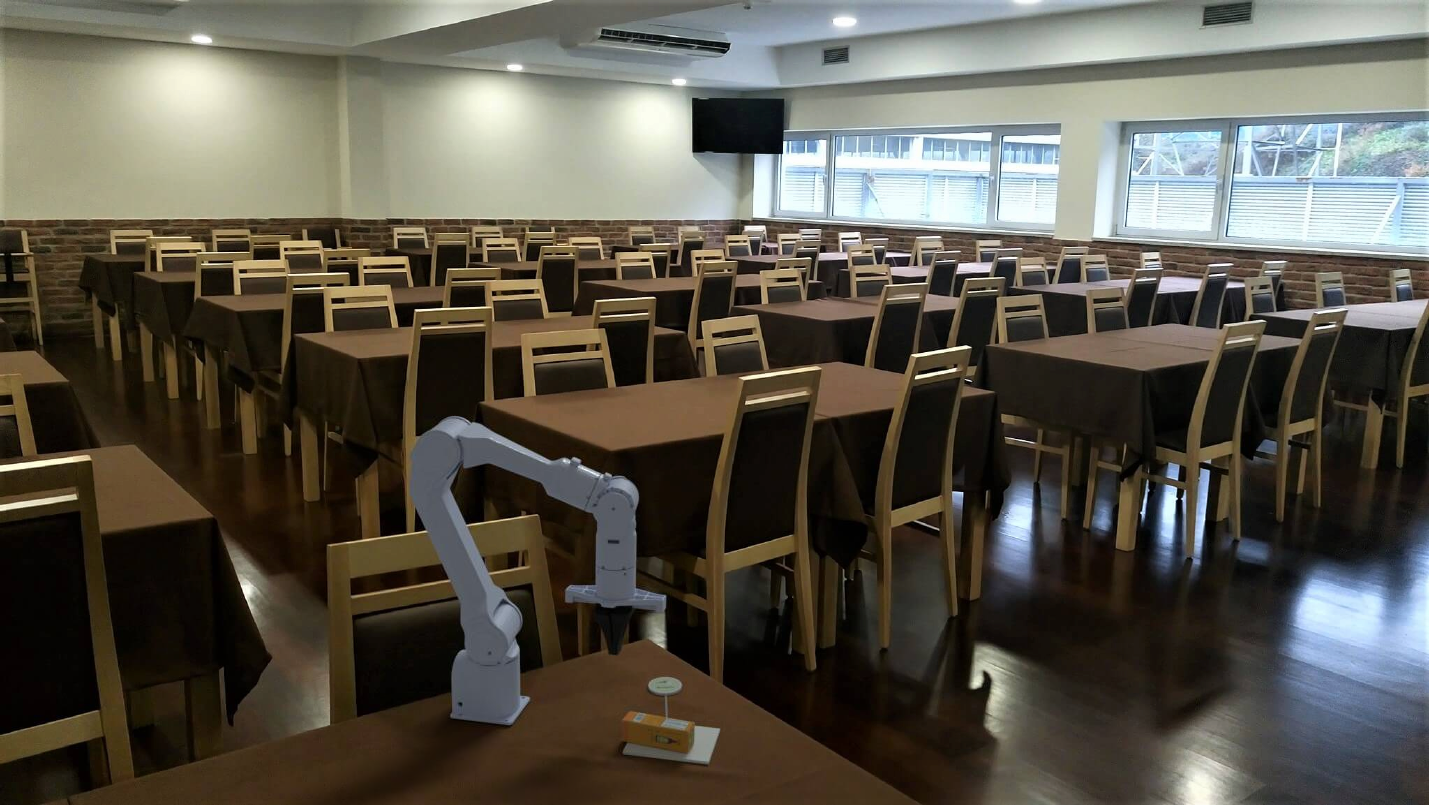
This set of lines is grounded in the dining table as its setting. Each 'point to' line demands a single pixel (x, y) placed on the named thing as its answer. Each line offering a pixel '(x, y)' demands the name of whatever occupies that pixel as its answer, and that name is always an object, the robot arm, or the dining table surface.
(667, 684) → the sign
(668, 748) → the supplement box
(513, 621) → the robot arm
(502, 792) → the dining table surface
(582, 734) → the dining table surface
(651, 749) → the mat
